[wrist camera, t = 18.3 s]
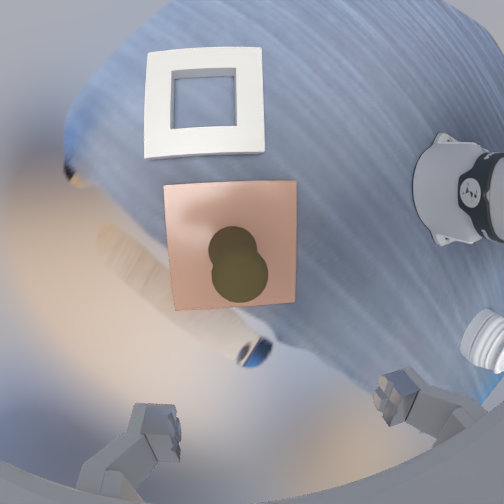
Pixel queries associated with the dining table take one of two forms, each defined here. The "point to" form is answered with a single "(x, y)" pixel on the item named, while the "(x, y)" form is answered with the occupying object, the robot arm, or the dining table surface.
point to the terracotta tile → (224, 215)
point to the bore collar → (204, 138)
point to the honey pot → (485, 341)
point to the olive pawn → (237, 265)
